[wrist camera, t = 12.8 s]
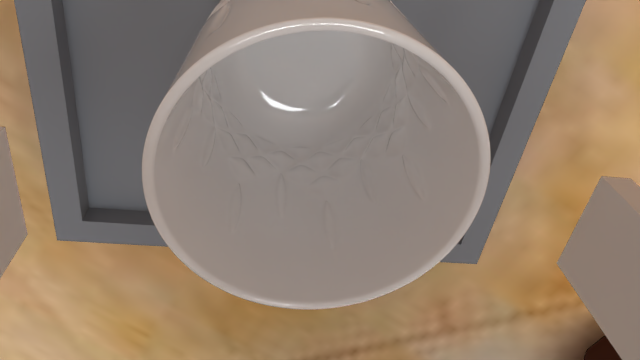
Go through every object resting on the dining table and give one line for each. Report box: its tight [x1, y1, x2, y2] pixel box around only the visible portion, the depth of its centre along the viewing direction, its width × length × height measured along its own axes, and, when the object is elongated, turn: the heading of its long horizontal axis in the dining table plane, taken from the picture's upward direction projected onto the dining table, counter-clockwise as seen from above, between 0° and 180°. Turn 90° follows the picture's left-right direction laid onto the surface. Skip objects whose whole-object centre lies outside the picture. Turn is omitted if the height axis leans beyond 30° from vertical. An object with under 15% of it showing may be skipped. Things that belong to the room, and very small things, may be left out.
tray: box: [14, 0, 586, 264], centre depth 20 cm, size 20×20×2 cm
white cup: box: [142, 0, 491, 309], centre depth 16 cm, size 8×8×10 cm
